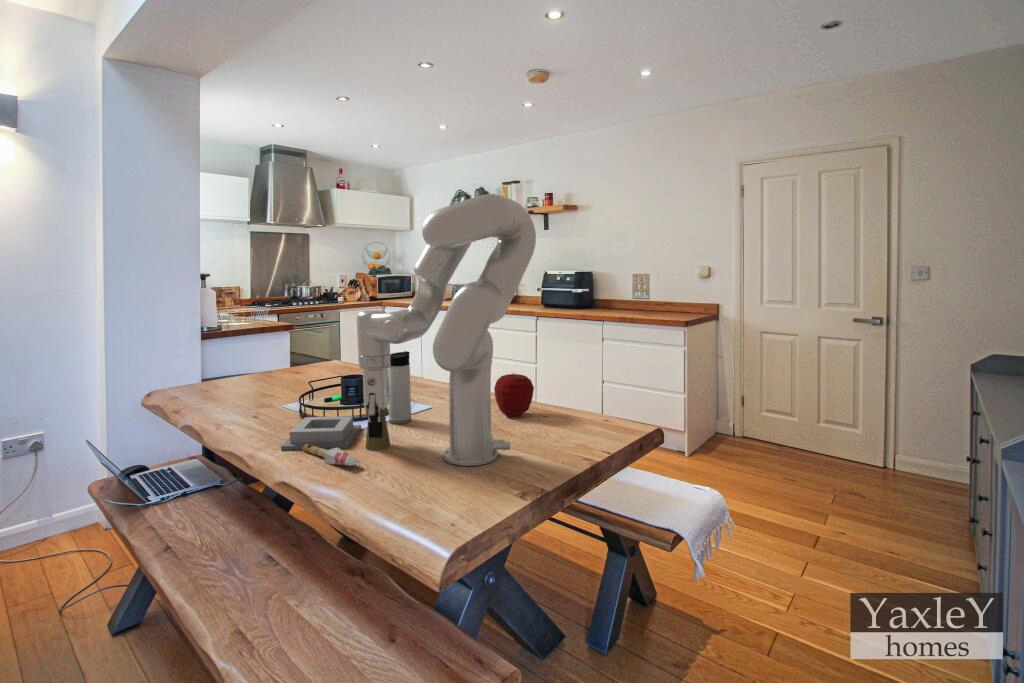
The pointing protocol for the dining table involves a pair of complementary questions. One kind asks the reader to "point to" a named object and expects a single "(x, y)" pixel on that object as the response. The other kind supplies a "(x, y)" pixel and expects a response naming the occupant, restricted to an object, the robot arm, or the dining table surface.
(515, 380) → the apple
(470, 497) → the dining table surface
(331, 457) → the paintbrush
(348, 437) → the holder
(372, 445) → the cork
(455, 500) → the dining table surface
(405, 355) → the travel mug
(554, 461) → the dining table surface
